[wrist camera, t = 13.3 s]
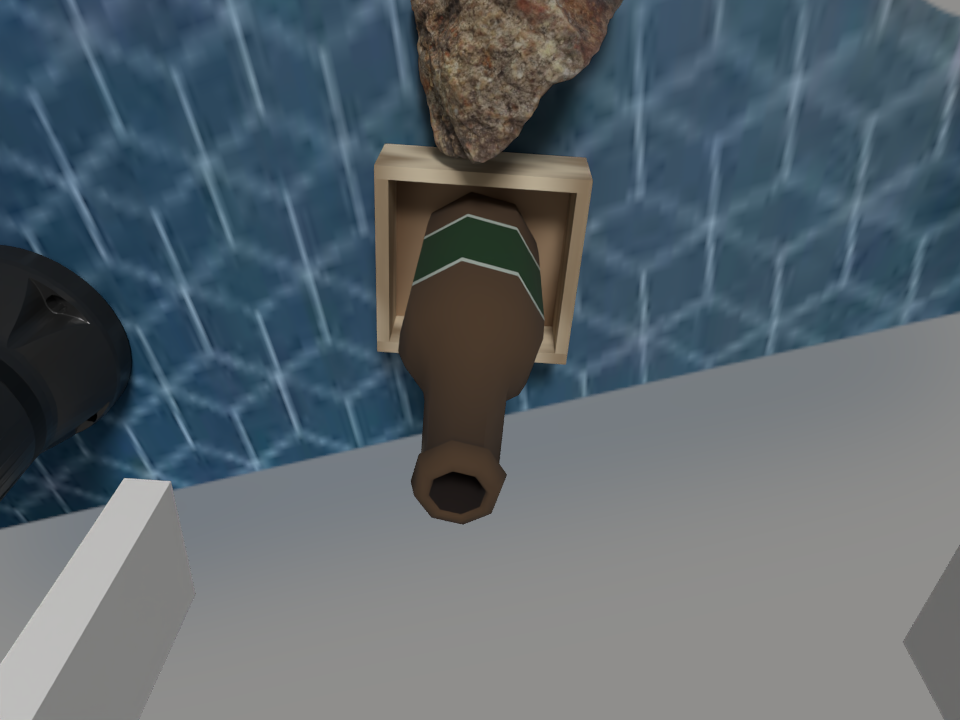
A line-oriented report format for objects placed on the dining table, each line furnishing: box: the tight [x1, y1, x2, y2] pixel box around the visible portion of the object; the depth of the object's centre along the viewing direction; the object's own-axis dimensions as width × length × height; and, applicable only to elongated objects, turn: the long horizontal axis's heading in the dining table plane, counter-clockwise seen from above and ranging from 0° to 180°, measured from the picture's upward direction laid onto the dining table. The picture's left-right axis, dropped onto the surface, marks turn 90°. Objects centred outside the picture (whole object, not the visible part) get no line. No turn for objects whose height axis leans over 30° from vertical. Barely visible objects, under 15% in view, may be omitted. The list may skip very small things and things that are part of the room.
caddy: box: [374, 144, 593, 364], centre depth 47 cm, size 13×13×4 cm
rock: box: [411, 0, 623, 164], centre depth 38 cm, size 14×9×10 cm
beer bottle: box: [398, 192, 544, 524], centre depth 38 cm, size 8×8×24 cm
